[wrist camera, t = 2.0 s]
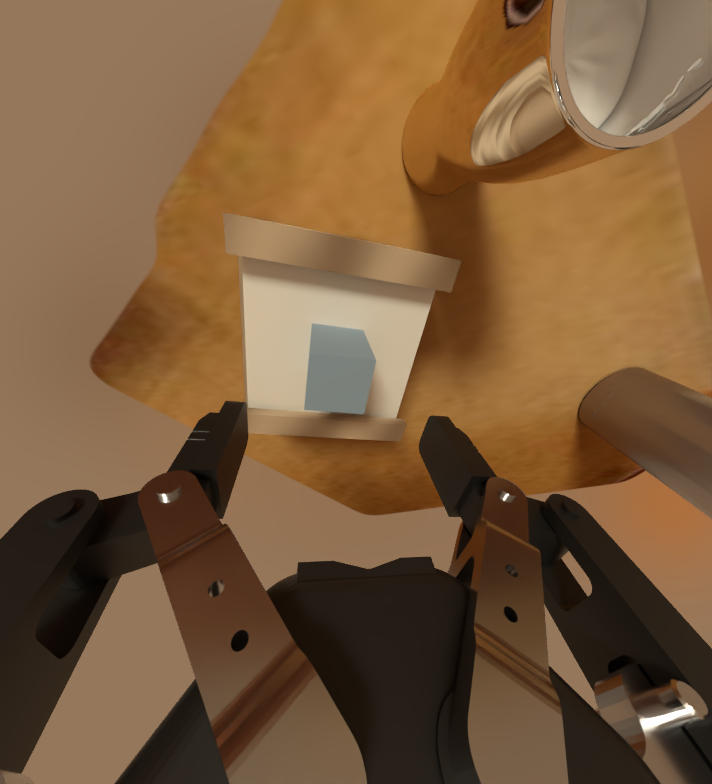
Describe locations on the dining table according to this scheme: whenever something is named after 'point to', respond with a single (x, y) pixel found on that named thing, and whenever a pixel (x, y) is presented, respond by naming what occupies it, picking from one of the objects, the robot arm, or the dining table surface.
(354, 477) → the dining table surface
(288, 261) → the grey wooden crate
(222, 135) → the dining table surface
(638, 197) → the dining table surface
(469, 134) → the beer glass
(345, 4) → the dining table surface
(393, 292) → the cover plate
